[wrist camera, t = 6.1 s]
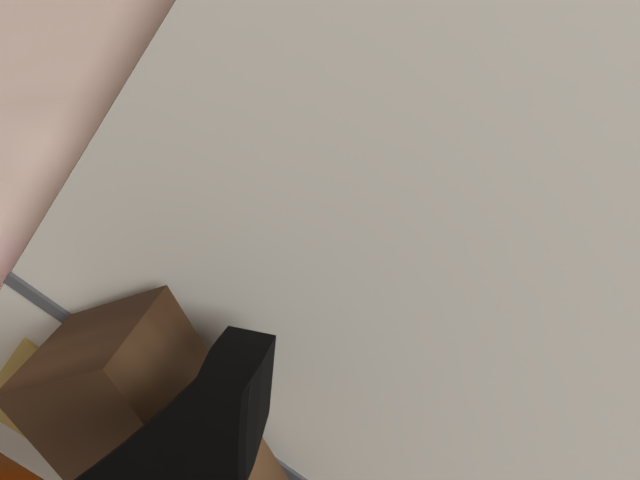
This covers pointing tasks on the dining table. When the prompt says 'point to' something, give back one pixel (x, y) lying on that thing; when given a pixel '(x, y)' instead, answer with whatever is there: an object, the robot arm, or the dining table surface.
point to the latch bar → (108, 381)
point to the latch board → (377, 228)
